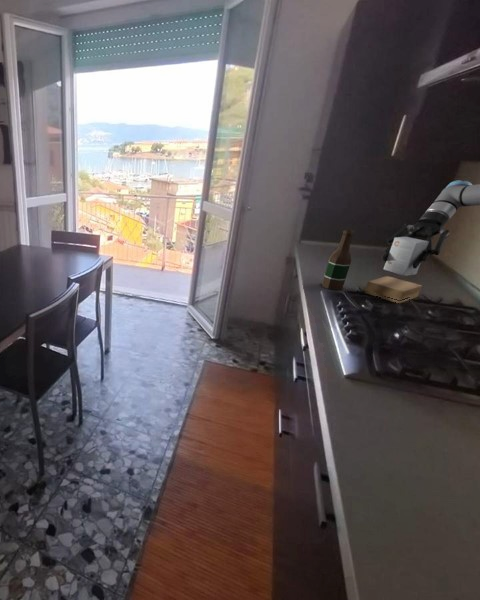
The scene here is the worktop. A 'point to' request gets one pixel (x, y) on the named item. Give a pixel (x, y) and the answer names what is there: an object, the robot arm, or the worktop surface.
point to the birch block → (393, 289)
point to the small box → (404, 255)
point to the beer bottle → (339, 264)
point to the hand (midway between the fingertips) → (398, 262)
